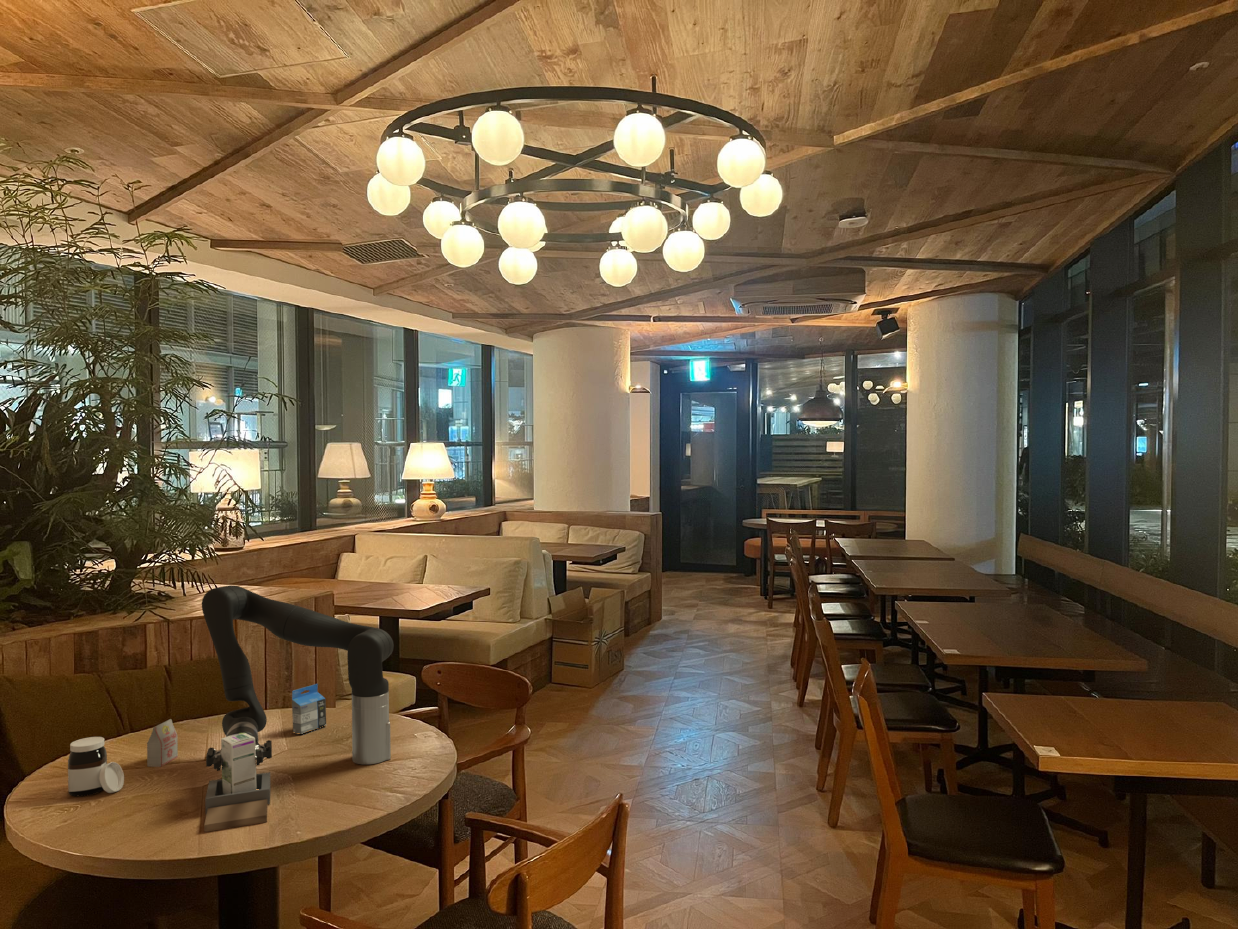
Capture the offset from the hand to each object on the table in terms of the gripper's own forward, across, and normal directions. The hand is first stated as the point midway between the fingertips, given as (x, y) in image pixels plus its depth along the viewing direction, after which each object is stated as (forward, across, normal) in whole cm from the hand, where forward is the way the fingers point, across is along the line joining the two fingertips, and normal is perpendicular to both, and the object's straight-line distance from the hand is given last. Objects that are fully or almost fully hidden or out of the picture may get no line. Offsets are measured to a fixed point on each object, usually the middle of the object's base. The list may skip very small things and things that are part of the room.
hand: (238, 763), depth 185 cm
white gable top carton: (-37, -20, +9) cm, 43 cm away
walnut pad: (+8, 0, +9) cm, 12 cm away
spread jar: (-22, -32, +9) cm, 39 cm away
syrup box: (-2, 0, +9) cm, 9 cm away
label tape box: (-48, +16, +9) cm, 52 cm away
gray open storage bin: (-2, 0, +9) cm, 9 cm away
